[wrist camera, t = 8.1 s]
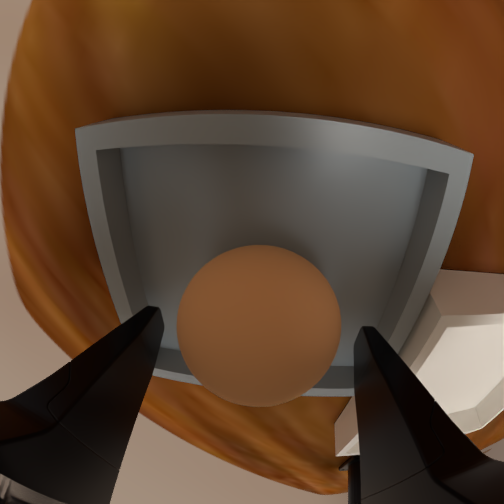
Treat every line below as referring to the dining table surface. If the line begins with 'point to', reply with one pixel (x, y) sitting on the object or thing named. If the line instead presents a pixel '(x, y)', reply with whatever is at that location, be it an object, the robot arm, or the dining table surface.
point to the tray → (272, 212)
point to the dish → (452, 353)
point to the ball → (258, 325)
